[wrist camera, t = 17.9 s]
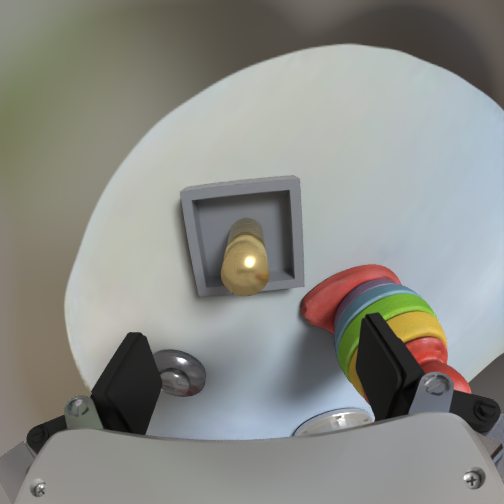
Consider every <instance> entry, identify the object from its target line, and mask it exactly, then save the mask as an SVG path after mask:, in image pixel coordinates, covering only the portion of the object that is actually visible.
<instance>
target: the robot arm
mask: <svg viewBox="0 0 504 504" xmlns="http://www.w3.org/2000/svg"><path fill="white" fill-rule="evenodd" d="M355 368H356V373H357V375H358V377H359V380H360V382H361V384H362V387H363V389H364V391H365V394H366V396H367V399H368V401H369V403H370V406H371V408H372V411H373V413H374V416H375V418H376V421H377V422H373V423H372V419H371V417H370V414H369V413H368V412H366V411H364V410H362V409H356V408H347V409H339V410H334V411H330V412H327V413H324V414H321V415H319V416H316V417H314V418H312V419H310V420H309V421H307V422H305V423H304V424H303V425H301V426H300V427H299V428H298V429H297V430H296V432H295V434H294V436H292V437H282V438H270V439H253V440H195V439H179V438H167V437H157V436H148V435H145V434H146V431H147V428H148V425H149V422H150V419H151V416H152V414H153V411H154V408H155V405H156V402H157V399H158V397H159V394H160V391H161V388H162V378H161V376H160V373H159V371H158V368H157V365H156V363H155V360H154V357H153V355H152V352H151V349H150V346H149V343H148V340H147V338H146V336H143V334H142V333H140V332H129V333H128V334H127V335H126V337H125V338H124V340H123V341H122V343H121V345H120V346H119V348H118V349H117V351H116V352H115V354H114V355H113V357H112V359H111V360H110V362H109V363H108V365H107V367H106V368H105V370H104V371H103V373H102V375H101V376H100V378H99V379H98V381H97V383H96V384H95V386H94V388H93V389H92V391H91V392H92V395H91V396H90V397H88V396H86V395H78V396H75V397H73V398H71V399H70V400H69V401H67V403H66V404H65V406H64V415H62V416H60V417H58V418H55V419H53V420H50V421H48V422H45V423H43V424H40V425H38V426H36V427H34V428H32V429H31V430H30V431H29V433H28V435H27V442H26V443H24V441H22V442H21V443H19V444H18V445H16V446H15V447H14V448H12V449H11V450H9V451H8V452H7V453H5V454H4V455H2V456H1V457H0V482H1V484H2V486H3V488H4V490H5V491H6V493H7V496H8V497H9V499H10V501H11V503H12V504H504V415H502V414H501V412H500V407H499V405H498V404H497V403H496V402H495V401H494V400H492V399H489V398H486V397H482V396H477V395H474V394H470V393H466V392H462V391H458V390H454V383H453V381H452V379H451V378H450V377H449V376H448V375H446V374H444V373H441V372H430V373H428V374H426V373H425V372H424V370H423V369H422V368H421V366H420V365H419V363H418V362H417V360H416V359H415V358H414V356H413V355H412V353H411V352H410V351H409V349H408V348H407V346H406V345H405V344H404V342H403V341H402V340H401V339H400V338H398V337H397V336H396V334H395V333H394V332H393V330H392V329H391V328H390V326H389V325H388V323H387V322H386V321H385V319H384V318H383V317H382V315H381V314H380V313H379V312H376V313H370V314H366V315H365V318H362V320H361V327H360V336H359V344H358V351H357V358H356V365H355Z"/></svg>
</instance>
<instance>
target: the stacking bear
mask: <svg viewBox="0 0 504 504" xmlns="http://www.w3.org/2000/svg"><path fill="white" fill-rule="evenodd" d="M302 303H303V306H302V309H301V312H302V314H303V316H304V317H305V318H306V319H307V321H308V322H309V323H310V324H312V325H314V326H316V327H320V328H323V329H326V330H328V331H330V332H331V333H332V334H334V342H335V349H336V354H337V358H338V361H339V364H340V367H341V369H342V370H343V372H344V374H345V376H346V377H347V378H348V380H349V381H350V382H351V383H352V384H353V386H354V387H355V389H356V390H357V391H358V393H359V394H360V395H361V396H362V397H363V398H364V399H365V400H366V402H367V403H368V404H369V405H370V403H369V401H368V399H367V396H366V394H365V391H364V389H363V387H362V384H361V382H360V380H359V377H358V375H357V373H356V368H355V365H356V358H357V351H358V344H359V336H360V327H361V320H362V318H365V315H366V314H370V313H376V312H379V313H380V314H381V315H382V317H383V318H384V319H385V321H386V322H387V323H388V325H389V326H390V328H391V329H392V330H393V332H394V333H395V334H396V336H397V337H398V338H400V339H401V340H402V341H403V342H404V344H405V345H406V346H407V348H408V349H409V351H410V352H411V353H412V355H413V356H414V358H415V359H416V360H417V362H418V363H419V365H420V366H421V368H422V369H423V370H424V372H425V373H426V374H428V373H430V372H441V373H444V374H446V375H448V376H449V377H450V378H451V379H452V381H453V383H454V390H458V391H462V392H466V393H470V394H471V390H470V387H469V385H468V383H467V381H466V380H465V379H464V377H463V376H462V375H461V374H460V373H458V372H457V371H456V370H455V369H453V368H452V367H450V366H449V365H447V357H448V352H447V340H446V337H445V334H444V331H443V329H442V327H441V325H440V323H439V322H438V319H437V317H436V315H435V314H434V312H433V310H432V309H431V307H430V306H429V305H428V304H427V302H426V301H425V300H424V299H423V298H422V297H421V296H420V295H418V294H417V293H415V292H414V291H412V290H411V289H409V288H407V287H405V286H402V285H401V283H400V281H399V279H398V277H397V276H396V275H395V274H394V273H393V272H392V271H391V270H390V269H388V268H386V267H384V266H381V265H375V264H372V265H363V266H358V267H354V268H350V269H347V270H345V271H342V272H340V273H337V274H335V275H333V276H332V277H330V278H328V279H326V280H325V281H323V282H322V283H320V284H319V285H317V286H316V287H315V288H314V289H313V290H311V291H310V292H309V293H308V294H307V295H306V296H305V298H304V299H303V302H302ZM374 422H377V421H376V418H375V421H374Z"/></svg>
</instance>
